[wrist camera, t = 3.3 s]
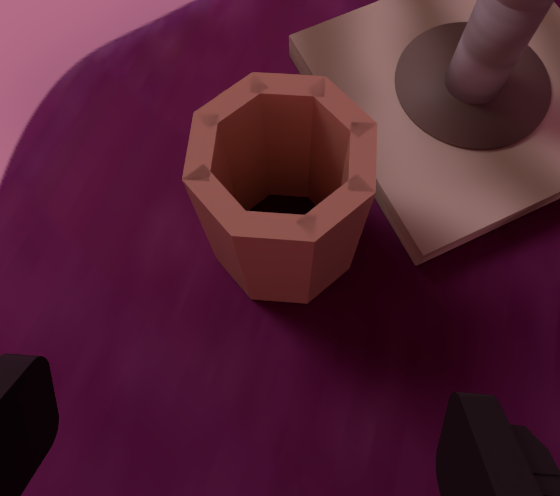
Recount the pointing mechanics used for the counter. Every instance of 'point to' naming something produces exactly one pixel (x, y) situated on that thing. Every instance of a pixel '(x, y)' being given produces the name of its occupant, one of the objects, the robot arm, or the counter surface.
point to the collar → (282, 181)
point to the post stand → (450, 109)
